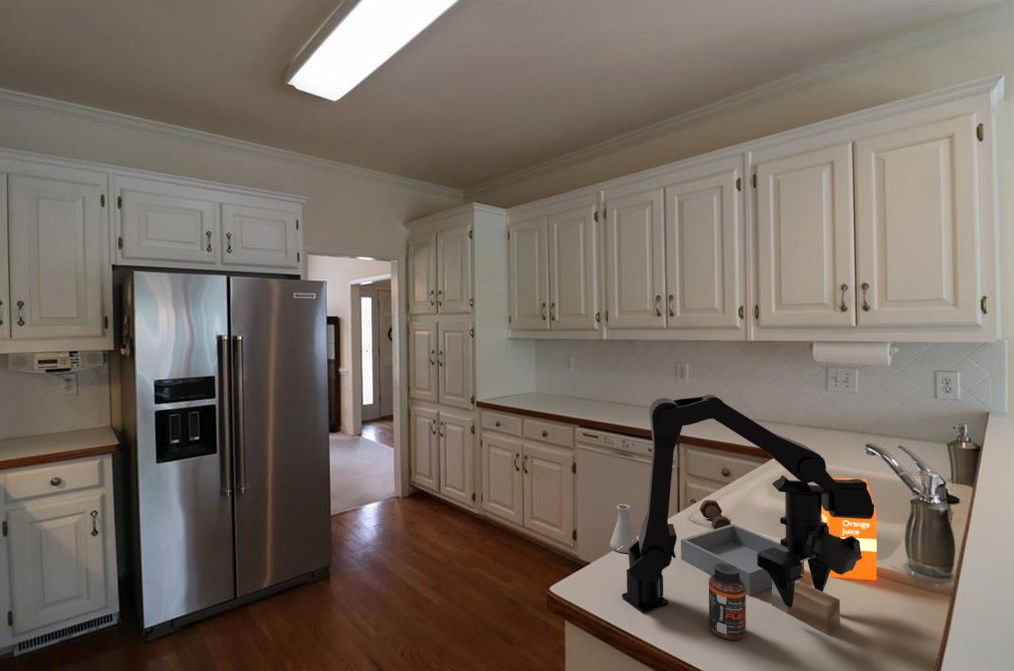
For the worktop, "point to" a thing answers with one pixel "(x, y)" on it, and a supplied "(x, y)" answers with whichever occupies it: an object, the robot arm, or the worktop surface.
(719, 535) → the bin
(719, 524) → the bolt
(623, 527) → the flask
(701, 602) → the worktop surface
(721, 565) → the supplement bottle
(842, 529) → the orange juice
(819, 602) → the tan rectangular block
